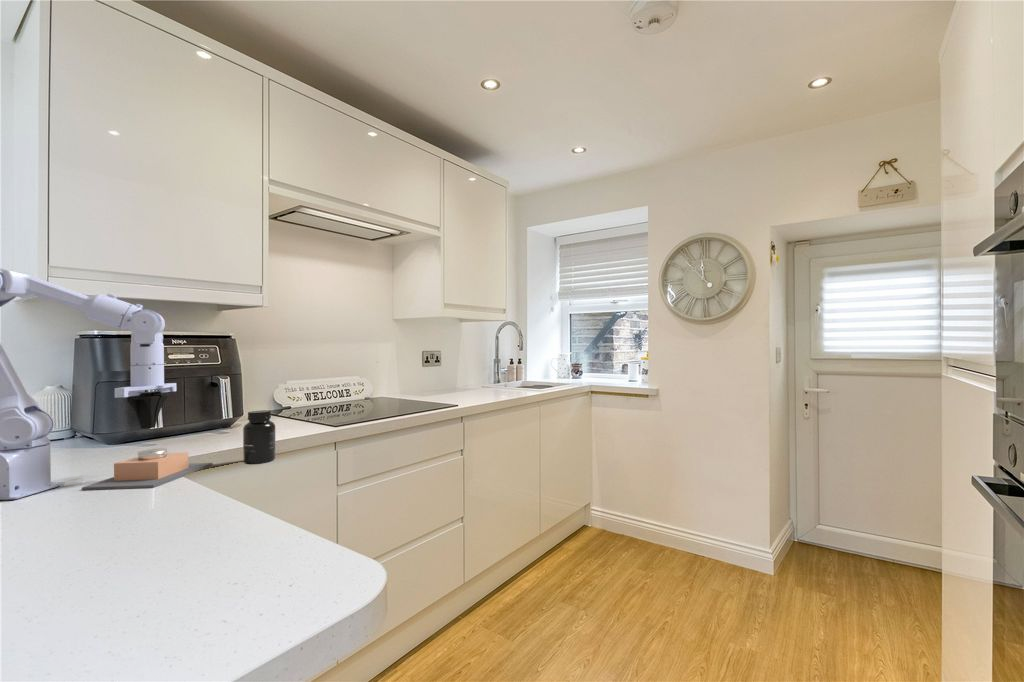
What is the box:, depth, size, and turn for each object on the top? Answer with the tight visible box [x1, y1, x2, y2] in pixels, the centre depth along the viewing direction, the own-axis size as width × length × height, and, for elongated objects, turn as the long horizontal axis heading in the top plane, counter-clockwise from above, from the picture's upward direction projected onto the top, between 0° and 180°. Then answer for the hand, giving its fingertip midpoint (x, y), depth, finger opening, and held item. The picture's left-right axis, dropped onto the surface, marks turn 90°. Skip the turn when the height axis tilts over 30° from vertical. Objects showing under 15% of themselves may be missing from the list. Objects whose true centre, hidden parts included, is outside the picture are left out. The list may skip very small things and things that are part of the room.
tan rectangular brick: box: [113, 451, 190, 481], centre depth 99 cm, size 9×9×4 cm
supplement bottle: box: [242, 409, 277, 465], centre depth 111 cm, size 7×7×12 cm
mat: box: [81, 462, 214, 491], centre depth 99 cm, size 18×14×1 cm
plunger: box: [137, 447, 168, 460], centre depth 99 cm, size 5×5×5 cm
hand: (148, 428), depth 100 cm, fingers closed
